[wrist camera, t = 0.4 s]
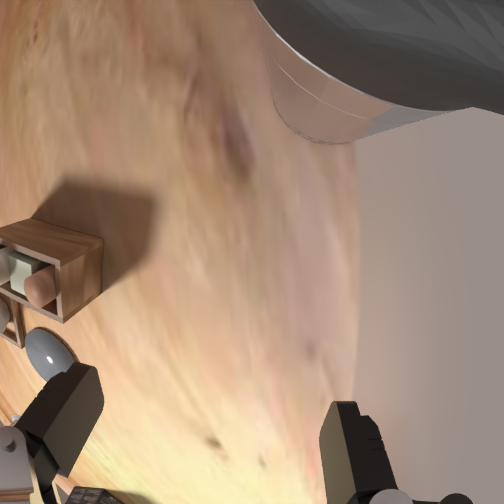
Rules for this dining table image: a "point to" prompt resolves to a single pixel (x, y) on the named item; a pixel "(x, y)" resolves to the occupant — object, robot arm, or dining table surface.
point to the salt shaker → (3, 315)
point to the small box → (91, 496)
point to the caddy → (50, 267)
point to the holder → (19, 337)
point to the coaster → (47, 353)
